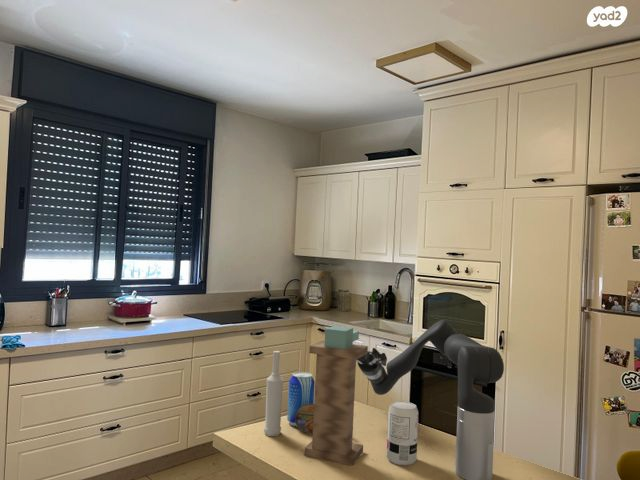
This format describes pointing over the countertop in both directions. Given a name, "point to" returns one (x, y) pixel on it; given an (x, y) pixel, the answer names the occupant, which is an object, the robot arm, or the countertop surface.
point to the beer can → (299, 393)
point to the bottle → (274, 399)
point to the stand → (334, 404)
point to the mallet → (340, 337)
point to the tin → (305, 418)
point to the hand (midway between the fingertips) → (360, 349)
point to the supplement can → (402, 433)
